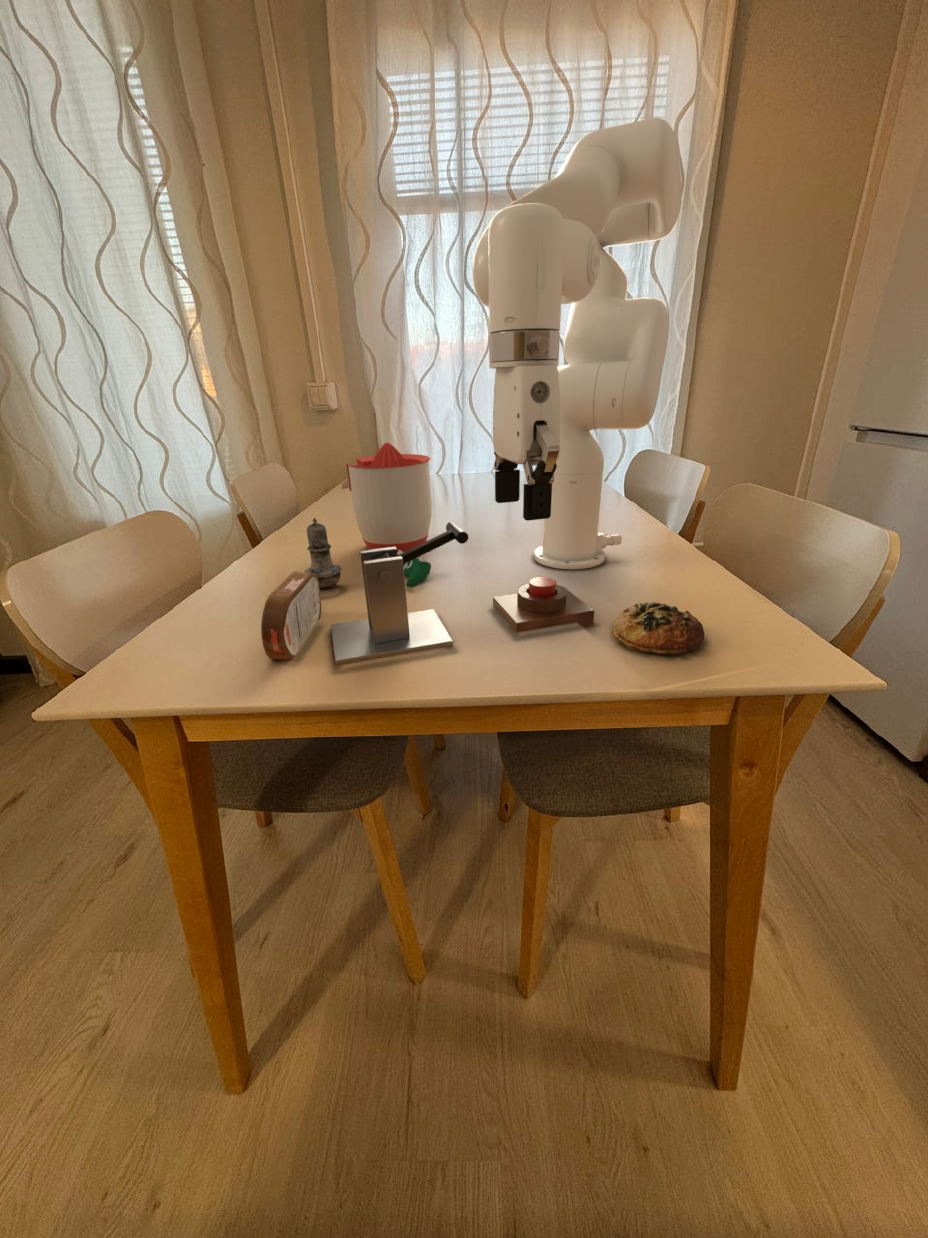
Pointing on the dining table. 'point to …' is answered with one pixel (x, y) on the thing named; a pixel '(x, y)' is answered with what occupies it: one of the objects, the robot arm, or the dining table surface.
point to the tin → (290, 615)
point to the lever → (433, 543)
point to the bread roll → (658, 629)
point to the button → (542, 587)
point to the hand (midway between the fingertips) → (521, 509)
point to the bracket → (386, 616)
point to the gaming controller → (416, 570)
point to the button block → (542, 609)
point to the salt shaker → (321, 557)
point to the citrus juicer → (391, 498)
